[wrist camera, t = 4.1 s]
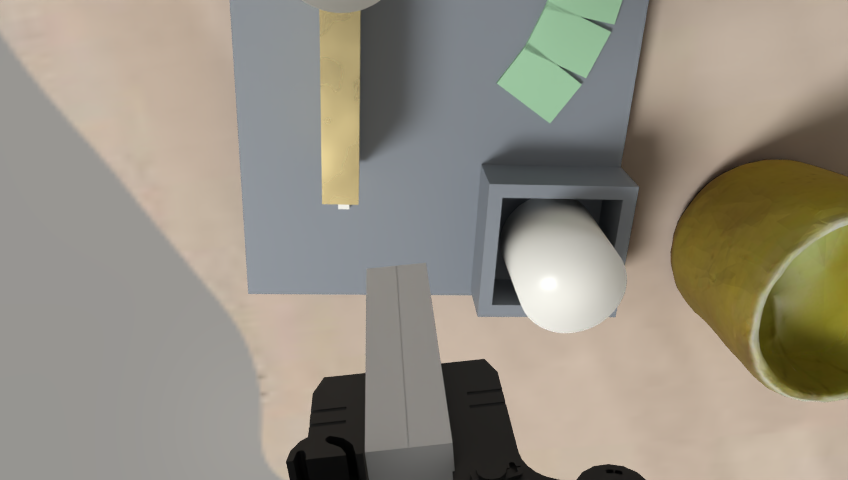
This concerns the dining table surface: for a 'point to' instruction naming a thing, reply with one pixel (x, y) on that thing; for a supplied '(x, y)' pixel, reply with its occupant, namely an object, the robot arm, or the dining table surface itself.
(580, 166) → the board
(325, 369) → the dining table surface
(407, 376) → the robot arm
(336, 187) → the grey and tan piece
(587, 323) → the button
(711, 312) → the mug
